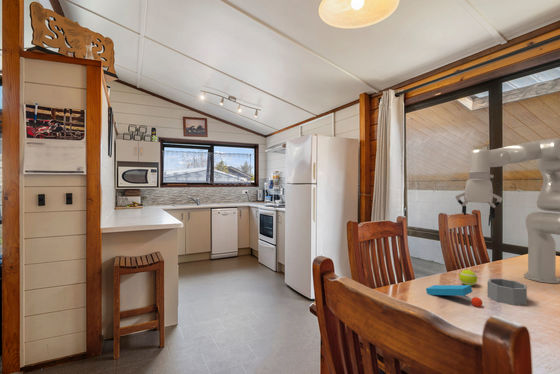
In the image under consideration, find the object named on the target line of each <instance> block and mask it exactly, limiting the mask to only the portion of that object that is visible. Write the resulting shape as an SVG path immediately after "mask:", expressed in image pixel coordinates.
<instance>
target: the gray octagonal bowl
mask: <svg viewBox="0 0 560 374" xmlns="http://www.w3.org/2000/svg"><path fill="white" fill-rule="evenodd" d="M487 298H489V299H491V300H493V301H495V302H498V303H502V304H507V305H512V306H527V303H528V302H527V301H528V285H527V284H524V283H521V282H519V281H516V280H511V279H506V278H505V279H504V278H488V280H487Z"/></svg>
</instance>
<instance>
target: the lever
mask: <svg viewBox="0 0 560 374" xmlns="http://www.w3.org/2000/svg"><path fill="white" fill-rule="evenodd" d="M425 290H426V294H427V295H429V296H458V297H460V298H462V299H463V300H464V299H465V300H467V301H470V302H471V305H472V306H473V307H476V308H480V307H482V305H483V301H482V299H481V298H479V297H477V296H474V297H470V296H469V294H472V293H473V289H472V286H471V285H465V284H461V285H459V284H457V285H456V284H451V285H449V284H443V285H442V284H441V285H437V284H435V285H434V284H433V285H432V286H429V287H425Z"/></svg>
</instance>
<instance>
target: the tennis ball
mask: <svg viewBox="0 0 560 374" xmlns="http://www.w3.org/2000/svg"><path fill="white" fill-rule="evenodd" d="M458 278H459V281H460V282H461V283H462V285H471V287H472V286H474V285H476V283H477V282H478V276H477V274H476V273H475V272H474V271H472V270H470V269H464V270H462V271H460V273H459V277H458Z"/></svg>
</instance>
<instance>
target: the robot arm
mask: <svg viewBox="0 0 560 374" xmlns="http://www.w3.org/2000/svg"><path fill="white" fill-rule="evenodd" d="M535 160H536V167H537V169H538V170H539V172H540V174H541V177H542V180H543V181H542V185H541V188H540V192H539V194H538V196H537V199H536V207H537V208H538V209H539V210H541V211H534V212H530V213H528V214H527V216H526V217H525V227H526V231H527V242H528V244H527V247H528V249H527V250H528V251H527V255H528V257H527V260H528V261H527V263H528V264H527V266H528V267H527V268H528V269H527V272H524V273H523V277H525V278H526V279H528V280H531V281H535V282H539V283H545V284H546V283H547V284H560V278H559V277H556V272H557V270H556V258H557V256H556V250H557V249H556V247H557V246H556V240H555V239H554V236H553V235H557V236H560V138H558V137H554V138H548V139H541V140H534V141H529V142H524V143H523V142H522V143H518V144H512V145H507V146H503V147H499V148H495V149H488V148H487V149H486V148H479V149H472V150H470V152H469V162H468V163H469V164H468V165H469V166H468V169H469V170H468V179H467V180H466V182H465V188H464V192H463V193H460V194H457V195H455V199H456V201H457V203H459V204H460V205H461V207H462V209H461V213H462V214H463V216H467V206H466V205H467V204H469V203H478V204H479V203H480V204H482V203H483V204H488V205H489V206H490V207H489V217H491V218H492V217H494V216H495V208H496V207H498V206H499V205H500V204H501V203H502V201H503V200H504V198H503V197H501V196H500V195H497V194H495V193H493V191H494V190H493V183H492V180H491V179H493V178H494V177H495V175H494V174H491V172H490V170H491V168H498V167H503V166H506V165H508V164H511V165H513V164H520V163H524V162H530V161H535ZM461 198H464V201H462V200H461ZM494 198H495V199H497V200H496V201H495V202H493V201H494V200H493V199H494Z"/></svg>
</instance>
